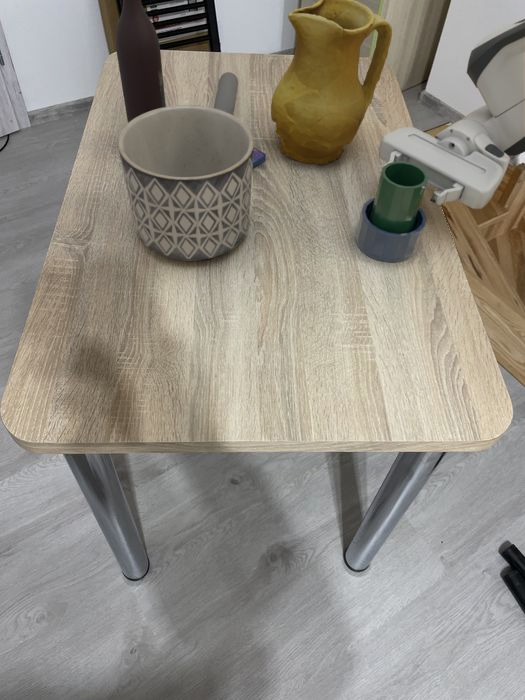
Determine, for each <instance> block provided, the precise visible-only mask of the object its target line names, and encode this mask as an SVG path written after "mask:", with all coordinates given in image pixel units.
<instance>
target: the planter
mask: <svg viewBox="0 0 525 700" xmlns="http://www.w3.org/2000/svg"><path fill="white" fill-rule="evenodd" d="M254 148H255V137H254V134H253V133H252V130H251V129H250V128H249V126H248V125H247V124H246V123H245V122H244V121H243V120H241V119H240V118H238V117H237V116H235V115H234V114H233V115H231V114H229V113H227V112H224V111H221V110H218V109H214V107H210V106H205V105H194V104H193V105H192V104H181V105H179V104H178V105H169V106H166V107H163V108H159V109H155V110H151V111H149V112H146V113H144V114H141V115H139V116H138V117H136V118H134V119H133V120H131V121H130V122H129V123H128V122H127V123H126V124H125V125H124V126H123V128H122V129H121V131H120V133H119V134H118V137H117V149H118V152H119V153H118V154H119V158H120V164H121V168H122V173H123V176H124V182H125V186H126V191H127V192H126V193H127V196H128V201H129V207H130V210H131V211H130V212H131V216H132V219H133V225H134V228H135V232H136V234H137V237H138V238H139V240H140V241H141V243H142V244H144V245H145V247H147V248H148V249H149V250H151V251H152V252H154V253H156V254H158V255H160V256H162V257H165V258H169V259H172V260H178V261H184V262H185V261H186V262H187V261H189V262H191V261H194V262H195V261H205V260H210V259H213V258H217V257H219V256H222V255H224V254H226V253H228V252H230V251H232V250H234V249H235V248H236V247H237V246H238V245H239V244H240V243H241V242H242V241H243V239H244V238H245V236H246V235H247V233H248V230H249V225H250V215H251V214H250V212H251V211H250V210H251V197H252V184H253V183H252V181H253V168H254V167H253V153H254Z"/></svg>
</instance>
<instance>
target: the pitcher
mask: <svg viewBox="0 0 525 700" xmlns="http://www.w3.org/2000/svg"><path fill="white" fill-rule="evenodd" d="M287 19H288V21H289V22H290V23H291V26H292V28H293V29H294V31H295V49H294V54H293V58H292V60H291V62H290V64H289V66H288V67H287V69H286V71H285V72H284V73H283V75H282V76H281V78H280V79H279V81H278V83H277V85H276V87H275V89H274V92H273V94H272V97H271V104H270V117H271V121H272V122H274V123H275V128H276V129H275V131H274V133H275V134H276V135H277V136H278V137H279V138H280V139H281V141H280V143H279V149H280V151H281V153H282V154H283V155H285V156H287V157H289V158H290V159H292V160H295V161H298V162H300V163H302V164H314V165H327V164H329V163H331V162H334V161H336V160H338V159H339V158H340V157H341V155H342V154H343V151H344V148H345V147H346V146H347V145H348V144H350V143H351V142H352V141H354V138H355V137H356V135H357V133H358V131H359V129H360V127H361V124H362V123H363V120H364V119H365V115H366V113H367V111H368V109H369V107H370V105H371V104H372V103H373V102H372V100H373V99H374V94H375V90H376V88H377V84H378V83H379V82H380V80H381V75H382V73H383V69H384V67H385V64H386V60H387V58H388V54H389V49H390V46H391V42H392V36H393V28H392V26H391V23H390V22H389V21H388V20H387V19H385V18H383V17H382V16H380V15H379V14H377V13H374V12H373V11H372V10H371V8H370V7H368V6H367V5H365V4H363V3H361V2H359V1H357V0H317V1H316V3H314V4H313V5H309V6H305V7H301V8H297V9H294V10H292V11H290V12H289V13H288V15H287ZM375 30H376V32H377V36H376V40H375V41H376V42H375V48H374V50H373V54H372V57H371V61H370V64H369V67H368V69H367V71H366V75H365V78H364V81H363V84H362V83H361V81H360V78H359V63H360V53H361V46H362V45H363V43H364V41H365V39H367V38H368V37H369V36H370V35H371V34H372V32H373V31H375Z"/></svg>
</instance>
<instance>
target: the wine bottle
mask: <svg viewBox="0 0 525 700" xmlns="http://www.w3.org/2000/svg"><path fill="white" fill-rule="evenodd" d="M114 40H115V41H114V42H115V48H116V56H117V64H118V69H119V75H120V83H121V88H122V89H121V90H122V94H123V101H124V108H125V112H126V113H125V115H126V120H127V124H128V123H129V122H130V121H131V120H133V119H134V118H136V117H138V116H139V115H141V114H144V113H146V112H149V111H151V110H155V109H159V108H163V107H167V105H166V104H167V103H166V95H165V94H166V93H165V84H164V83H165V82H164V75H163V64H162V53H161V47H160V46H161V45H160V39H159V37H158V33H157V31H156V28H155V26H154V24H153V22H152V21H151V19H150V17H149V16H148V14H147V13H146V10H145V8H144V6H143V4H142V0H122V8H121V13H120V16H119V19H118V21H117V25H116V30H115V39H114Z"/></svg>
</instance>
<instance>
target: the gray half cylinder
mask: <svg viewBox="0 0 525 700" xmlns="http://www.w3.org/2000/svg"><path fill="white" fill-rule="evenodd" d="M238 85H239V80H238V77H237V75H236V74H235V73H233V72H230V71H226V72H224V73H222V74H221V75H220V77H219V80H218V85H217V90H216V96H215V101H214V105H213V108H214V109H218V110H221V111H224V112H227V113H229V114H231V115H233V116H234V114H235V113H234V112H235V105H236V99H237V92H238Z"/></svg>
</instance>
